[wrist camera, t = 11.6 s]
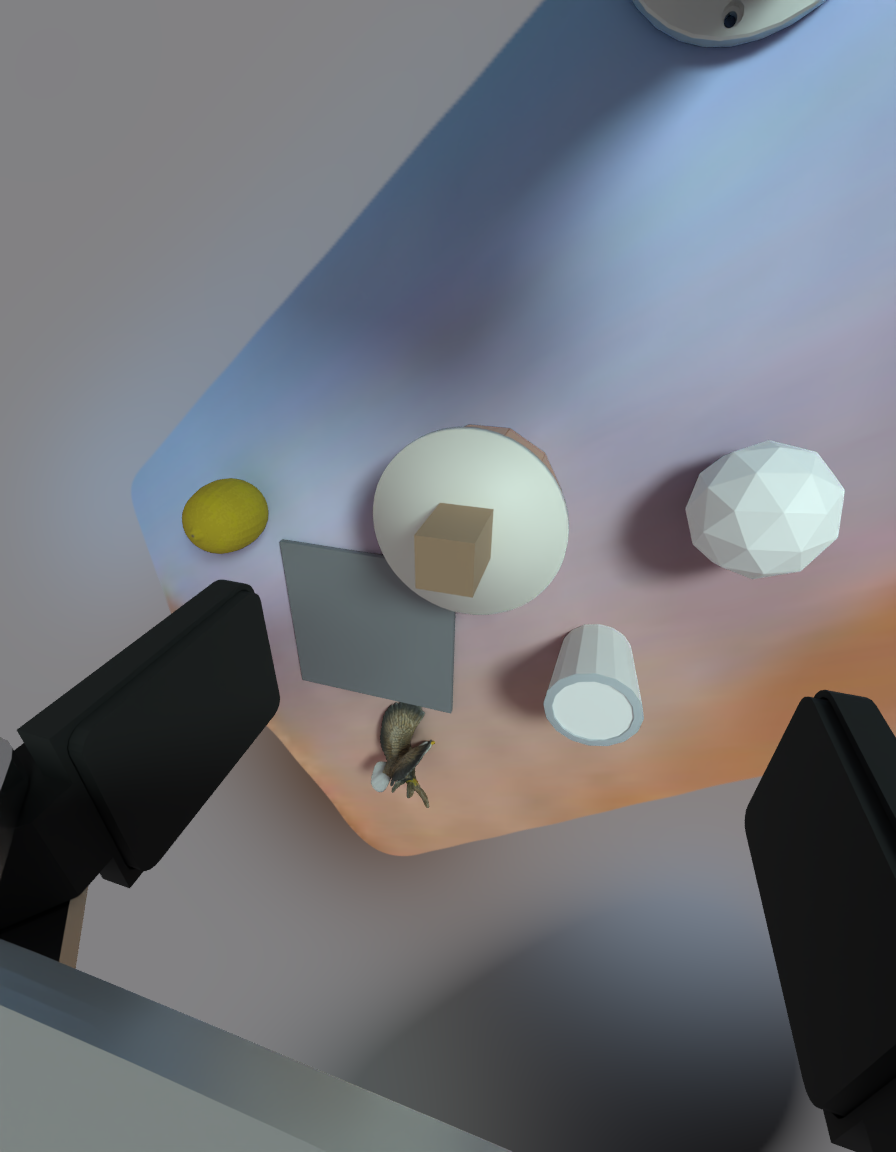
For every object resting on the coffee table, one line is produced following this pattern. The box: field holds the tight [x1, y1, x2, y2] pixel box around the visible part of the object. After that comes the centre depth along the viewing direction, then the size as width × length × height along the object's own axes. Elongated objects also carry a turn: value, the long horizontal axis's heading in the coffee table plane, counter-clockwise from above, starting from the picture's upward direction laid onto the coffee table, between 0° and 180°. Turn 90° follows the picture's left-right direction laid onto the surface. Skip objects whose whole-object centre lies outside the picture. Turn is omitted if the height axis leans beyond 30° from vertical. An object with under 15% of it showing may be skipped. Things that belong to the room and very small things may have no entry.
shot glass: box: [544, 624, 644, 746], centre depth 39 cm, size 7×7×7 cm
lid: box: [373, 427, 569, 615], centre depth 31 cm, size 13×13×6 cm
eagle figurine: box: [371, 702, 435, 808], centre depth 51 cm, size 8×7×9 cm
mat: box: [280, 540, 455, 713], centre depth 47 cm, size 16×16×1 cm
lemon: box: [182, 478, 268, 554], centre depth 40 cm, size 6×6×8 cm
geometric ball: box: [685, 440, 845, 579], centre depth 30 cm, size 8×8×8 cm
